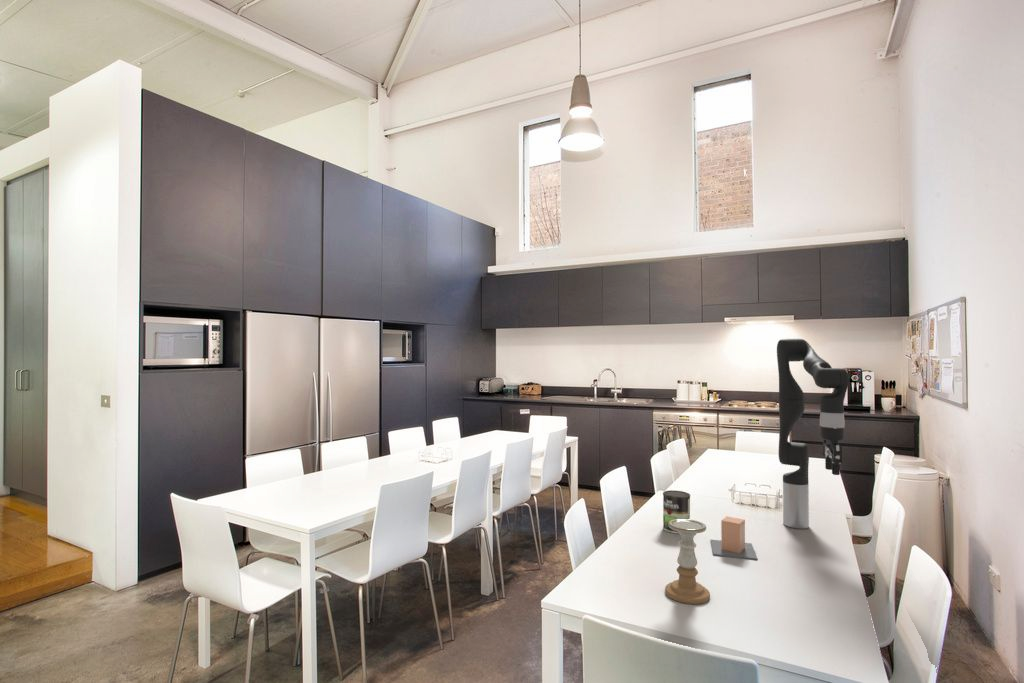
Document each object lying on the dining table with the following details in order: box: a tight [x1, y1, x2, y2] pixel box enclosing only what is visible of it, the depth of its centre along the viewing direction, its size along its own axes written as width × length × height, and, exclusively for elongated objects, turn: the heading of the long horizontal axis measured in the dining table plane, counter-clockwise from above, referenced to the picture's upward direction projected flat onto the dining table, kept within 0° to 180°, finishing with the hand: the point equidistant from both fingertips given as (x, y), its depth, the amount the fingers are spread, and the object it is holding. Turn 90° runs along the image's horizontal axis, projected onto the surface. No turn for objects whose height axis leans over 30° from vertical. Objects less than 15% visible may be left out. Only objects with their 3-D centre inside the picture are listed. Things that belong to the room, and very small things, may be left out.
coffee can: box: [662, 489, 691, 535], centre depth 212 cm, size 10×10×14 cm
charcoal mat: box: [710, 539, 759, 561], centre depth 190 cm, size 15×14×1 cm
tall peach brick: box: [720, 516, 746, 553], centre depth 190 cm, size 6×6×10 cm
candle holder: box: [664, 519, 711, 605], centre depth 155 cm, size 12×12×20 cm
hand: (832, 472), depth 188 cm, fingers open, 8 cm apart
